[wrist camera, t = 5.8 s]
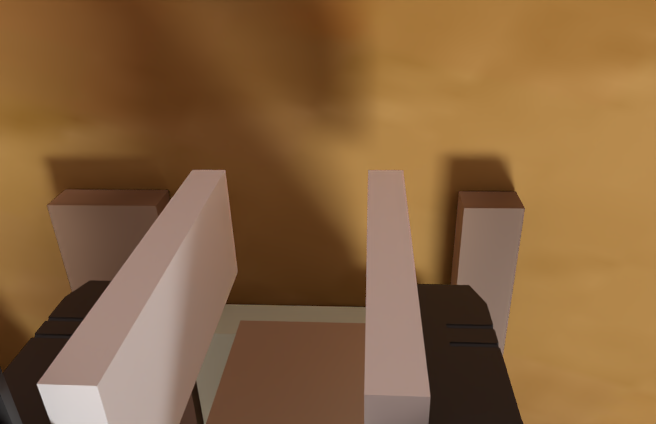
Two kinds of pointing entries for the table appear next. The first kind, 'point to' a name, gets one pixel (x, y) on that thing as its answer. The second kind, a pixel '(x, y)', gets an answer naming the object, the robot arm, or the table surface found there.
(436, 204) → the table surface
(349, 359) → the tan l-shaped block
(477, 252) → the lane frame
